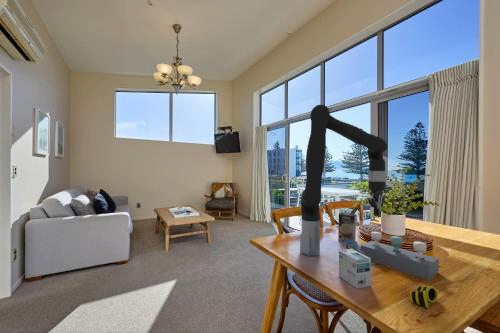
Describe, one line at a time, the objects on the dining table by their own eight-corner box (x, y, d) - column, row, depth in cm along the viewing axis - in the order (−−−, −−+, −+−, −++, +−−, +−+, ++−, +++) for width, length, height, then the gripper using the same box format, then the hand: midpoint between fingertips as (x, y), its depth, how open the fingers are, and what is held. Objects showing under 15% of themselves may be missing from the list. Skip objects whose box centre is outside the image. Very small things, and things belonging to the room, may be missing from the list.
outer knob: (423, 263, 96) (424, 245, 96) (411, 260, 100) (411, 242, 100) (427, 261, 99) (428, 243, 99) (415, 257, 102) (415, 240, 102)
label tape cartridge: (365, 272, 99) (365, 243, 99) (357, 273, 98) (357, 243, 98) (352, 263, 107) (353, 236, 107) (345, 264, 107) (345, 237, 107)
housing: (429, 280, 92) (429, 265, 92) (360, 257, 115) (360, 245, 115) (438, 272, 98) (438, 258, 98) (371, 252, 121) (371, 240, 121)
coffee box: (337, 240, 139) (337, 214, 139) (339, 237, 145) (340, 212, 144) (354, 243, 134) (354, 215, 134) (356, 240, 140) (356, 213, 140)
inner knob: (378, 250, 111) (378, 234, 111) (369, 247, 114) (369, 232, 114) (383, 248, 113) (383, 233, 113) (374, 245, 117) (374, 231, 117)
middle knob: (399, 256, 103) (399, 239, 103) (389, 253, 107) (389, 237, 107) (403, 254, 106) (404, 238, 106) (393, 251, 110) (393, 235, 109)
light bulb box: (371, 286, 87) (371, 257, 87) (356, 289, 85) (357, 260, 85) (351, 273, 98) (351, 248, 97) (337, 275, 96) (338, 249, 95)
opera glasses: (421, 296, 82) (418, 281, 83) (439, 300, 78) (436, 285, 79) (409, 306, 77) (406, 290, 78) (428, 311, 73) (425, 294, 73)
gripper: (375, 179, 120) (375, 212, 120) (362, 180, 113) (361, 216, 113) (391, 180, 114) (391, 215, 114) (378, 181, 106) (377, 219, 107)
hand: (376, 215), depth 114 cm, fingers closed
